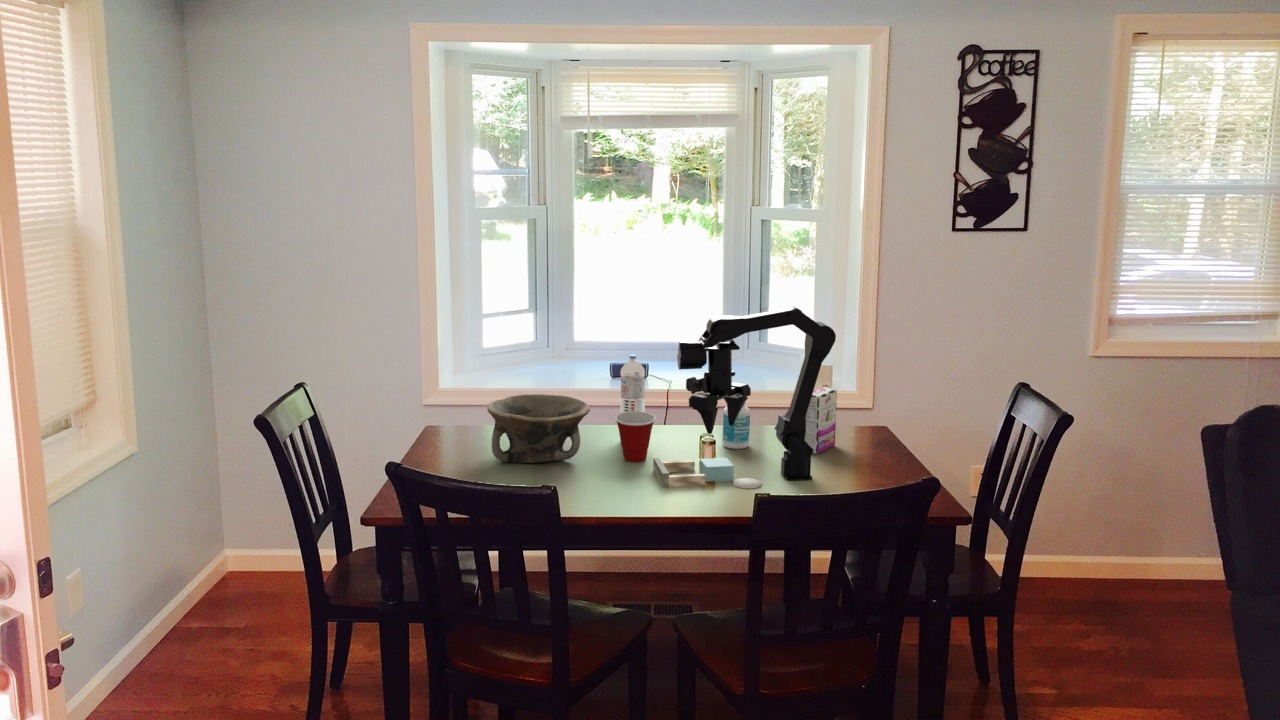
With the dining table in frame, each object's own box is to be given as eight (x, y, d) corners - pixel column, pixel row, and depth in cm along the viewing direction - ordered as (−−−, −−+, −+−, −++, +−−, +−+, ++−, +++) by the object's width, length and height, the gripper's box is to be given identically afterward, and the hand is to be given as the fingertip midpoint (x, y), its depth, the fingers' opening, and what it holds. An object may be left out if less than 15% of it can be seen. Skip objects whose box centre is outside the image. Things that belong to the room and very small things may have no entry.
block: (726, 472, 249) (726, 457, 249) (733, 481, 243) (733, 465, 242) (699, 473, 248) (699, 458, 247) (706, 482, 241) (706, 467, 241)
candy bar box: (819, 443, 276) (821, 386, 273) (835, 446, 273) (838, 389, 270) (800, 451, 267) (802, 393, 264) (817, 455, 264) (819, 396, 261)
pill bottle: (736, 451, 267) (737, 403, 265) (716, 445, 273) (717, 398, 270) (754, 446, 272) (756, 399, 270) (735, 440, 278) (736, 394, 275)
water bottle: (644, 445, 272) (644, 357, 267) (619, 445, 272) (620, 357, 268) (644, 438, 279) (645, 353, 274) (620, 438, 279) (621, 352, 274)
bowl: (609, 455, 263) (609, 401, 260) (547, 480, 241) (546, 421, 239) (532, 439, 278) (531, 388, 275) (467, 462, 256) (466, 406, 253)
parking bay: (693, 469, 251) (693, 456, 250) (704, 485, 238) (705, 471, 238) (653, 471, 249) (653, 458, 248) (662, 487, 237) (662, 473, 236)
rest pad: (756, 479, 244) (756, 477, 243) (764, 487, 237) (764, 486, 237) (729, 480, 242) (729, 478, 242) (736, 489, 236) (737, 487, 236)
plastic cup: (614, 466, 253) (615, 421, 251) (614, 454, 264) (614, 411, 262) (656, 465, 254) (657, 421, 251) (654, 453, 264) (654, 410, 262)
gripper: (715, 358, 251) (716, 416, 254) (670, 370, 237) (671, 432, 240) (751, 362, 243) (751, 423, 247) (707, 376, 229) (708, 439, 233)
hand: (720, 429), depth 241 cm, fingers open, 9 cm apart
